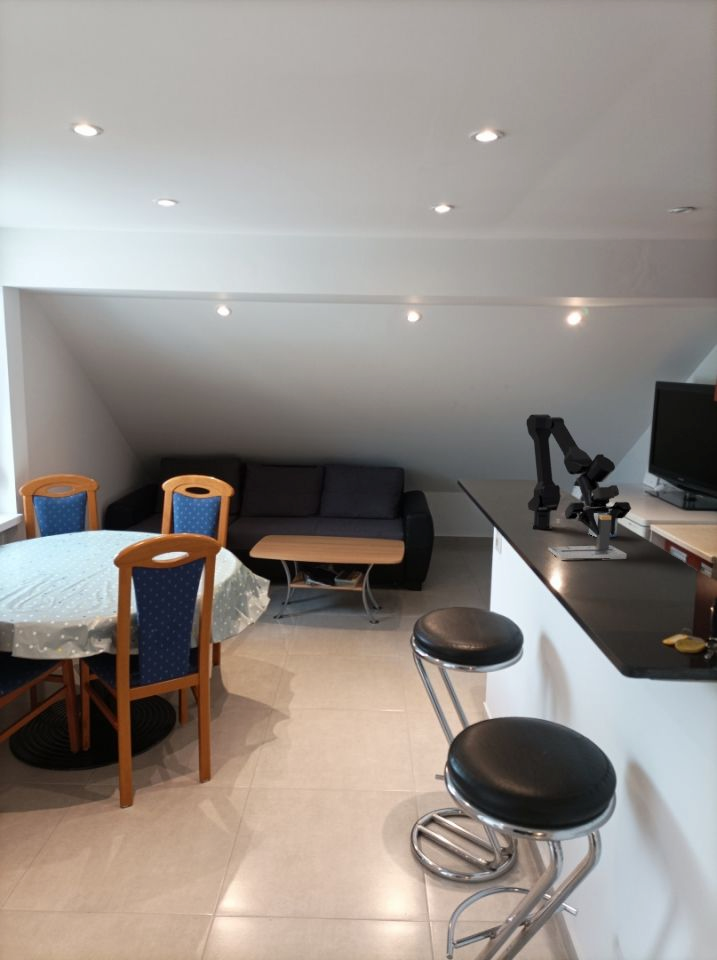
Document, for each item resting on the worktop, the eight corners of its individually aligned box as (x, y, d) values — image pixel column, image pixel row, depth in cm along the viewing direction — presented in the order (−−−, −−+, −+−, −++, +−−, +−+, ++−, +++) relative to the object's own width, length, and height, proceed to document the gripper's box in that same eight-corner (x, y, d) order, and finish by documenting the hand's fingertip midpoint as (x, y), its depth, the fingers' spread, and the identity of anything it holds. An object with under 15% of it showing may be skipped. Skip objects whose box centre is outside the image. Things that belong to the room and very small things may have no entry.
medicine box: (596, 538, 212) (598, 512, 211) (587, 535, 216) (589, 509, 215) (616, 537, 214) (618, 511, 213) (608, 533, 218) (610, 508, 217)
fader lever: (599, 549, 192) (601, 516, 190) (595, 547, 194) (598, 514, 192) (608, 549, 192) (611, 516, 191) (605, 547, 194) (607, 514, 192)
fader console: (561, 560, 187) (561, 555, 187) (548, 551, 196) (548, 546, 196) (626, 558, 190) (626, 553, 189) (610, 550, 198) (611, 545, 198)
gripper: (571, 475, 192) (586, 521, 183) (630, 475, 194) (648, 519, 185) (558, 496, 201) (571, 540, 192) (615, 495, 203) (630, 539, 195)
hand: (605, 534), depth 191 cm, fingers open, 4 cm apart
